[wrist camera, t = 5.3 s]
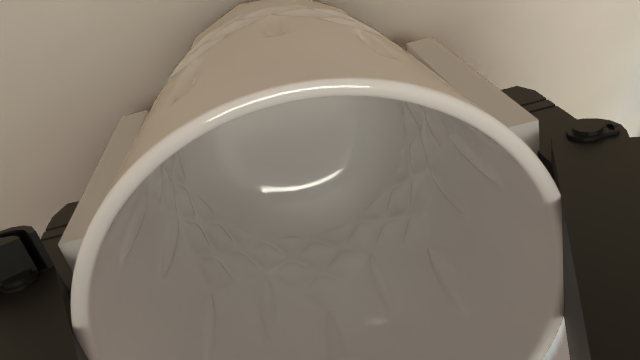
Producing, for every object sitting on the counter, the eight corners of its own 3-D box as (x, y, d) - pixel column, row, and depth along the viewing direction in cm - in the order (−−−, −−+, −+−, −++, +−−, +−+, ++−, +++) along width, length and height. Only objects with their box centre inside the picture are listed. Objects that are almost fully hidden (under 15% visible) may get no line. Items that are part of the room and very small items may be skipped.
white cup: (193, 236, 20) (158, 525, 11) (119, 0, 16) (-28, 146, 7) (418, 190, 20) (564, 433, 11) (397, -51, 16) (593, 26, 7)
